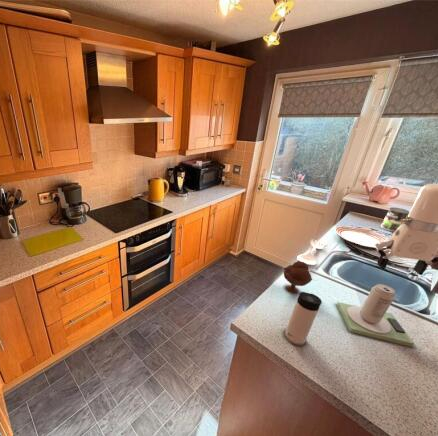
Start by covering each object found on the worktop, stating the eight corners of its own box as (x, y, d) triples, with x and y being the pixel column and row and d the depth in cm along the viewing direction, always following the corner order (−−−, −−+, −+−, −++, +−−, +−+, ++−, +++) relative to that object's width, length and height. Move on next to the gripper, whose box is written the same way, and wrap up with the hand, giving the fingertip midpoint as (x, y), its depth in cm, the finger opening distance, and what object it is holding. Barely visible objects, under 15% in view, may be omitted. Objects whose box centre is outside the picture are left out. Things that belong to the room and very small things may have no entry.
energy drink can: (371, 313, 91) (388, 283, 84) (383, 326, 85) (402, 295, 79) (354, 311, 92) (370, 281, 85) (364, 323, 86) (382, 293, 80)
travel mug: (286, 343, 82) (302, 301, 73) (283, 328, 87) (297, 287, 79) (306, 349, 80) (325, 306, 71) (302, 333, 85) (319, 292, 77)
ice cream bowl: (274, 281, 112) (282, 255, 105) (299, 283, 110) (308, 257, 104) (283, 297, 102) (292, 269, 96) (310, 299, 101) (321, 272, 94)
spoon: (327, 247, 139) (329, 242, 138) (312, 270, 119) (314, 264, 118) (310, 242, 145) (312, 237, 144) (293, 262, 125) (295, 257, 124)
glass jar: (391, 232, 157) (401, 213, 151) (376, 225, 166) (385, 207, 160) (405, 231, 158) (415, 212, 152) (389, 225, 167) (398, 207, 161)
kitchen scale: (389, 317, 92) (392, 312, 91) (411, 347, 80) (415, 342, 79) (336, 305, 98) (338, 300, 97) (349, 332, 86) (352, 327, 85)
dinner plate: (387, 239, 149) (390, 234, 147) (390, 257, 130) (392, 252, 129) (335, 226, 165) (336, 222, 164) (330, 240, 147) (332, 236, 145)
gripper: (394, 225, 71) (372, 270, 78) (472, 233, 65) (441, 281, 72) (381, 216, 77) (362, 258, 84) (451, 223, 72) (424, 268, 79)
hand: (398, 269), depth 78 cm, fingers open, 9 cm apart
